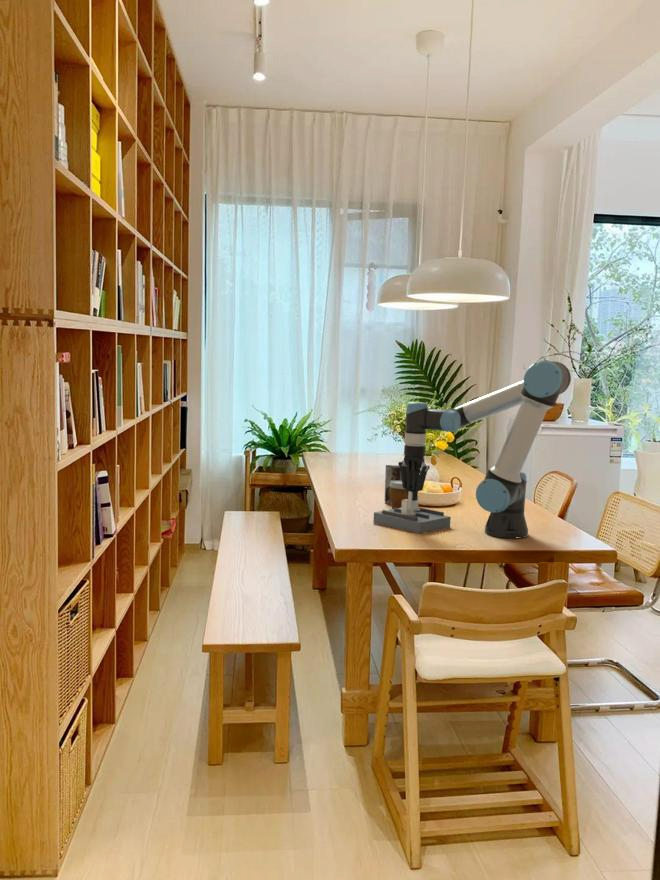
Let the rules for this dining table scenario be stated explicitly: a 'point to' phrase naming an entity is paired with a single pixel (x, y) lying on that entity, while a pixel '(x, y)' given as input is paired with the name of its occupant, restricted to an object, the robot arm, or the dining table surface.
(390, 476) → the coffee box
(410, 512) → the breaker slider
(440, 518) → the dark grey tray
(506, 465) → the robot arm
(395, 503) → the disposable coffee cup
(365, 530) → the dining table surface
